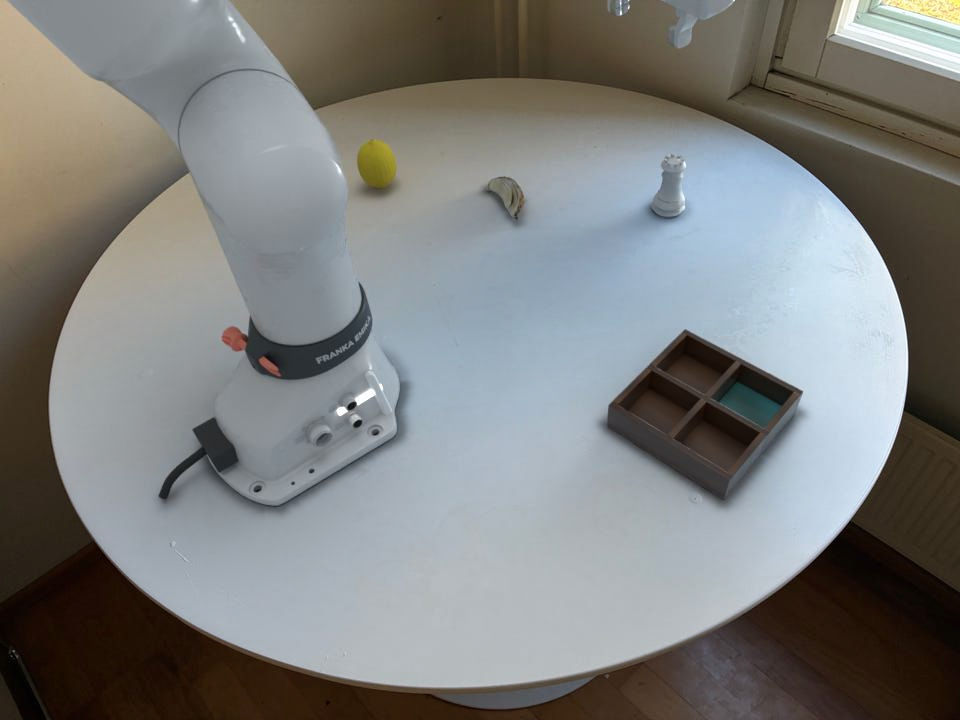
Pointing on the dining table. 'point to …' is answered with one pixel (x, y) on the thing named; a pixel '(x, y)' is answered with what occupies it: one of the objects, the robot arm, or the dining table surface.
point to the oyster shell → (508, 193)
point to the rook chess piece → (670, 188)
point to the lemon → (376, 163)
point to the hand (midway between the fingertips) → (647, 27)
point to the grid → (704, 411)
